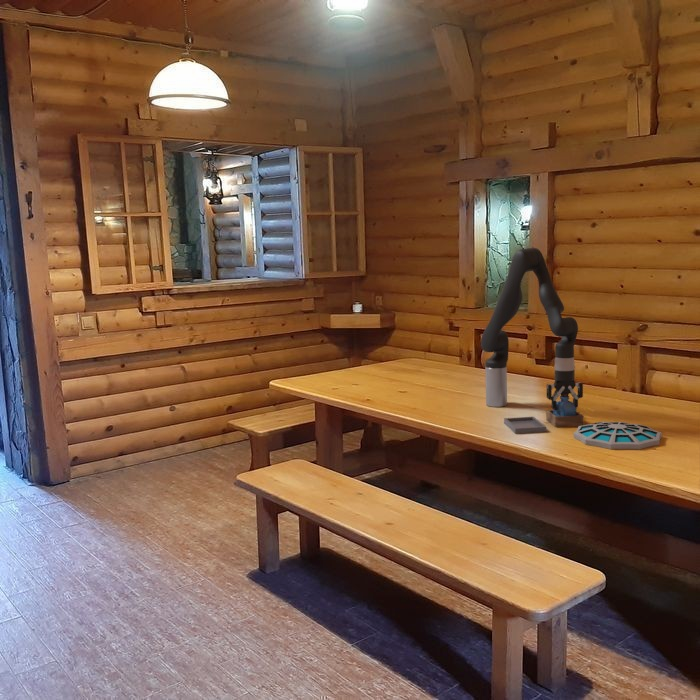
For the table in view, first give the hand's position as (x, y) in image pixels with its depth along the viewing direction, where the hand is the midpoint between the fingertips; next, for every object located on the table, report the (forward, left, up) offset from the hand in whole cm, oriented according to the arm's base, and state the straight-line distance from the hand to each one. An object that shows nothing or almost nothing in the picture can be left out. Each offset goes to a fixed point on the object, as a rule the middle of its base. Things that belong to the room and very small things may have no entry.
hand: (564, 409), depth 287 cm
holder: (0, 0, -6) cm, 6 cm away
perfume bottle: (0, 0, -6) cm, 6 cm away
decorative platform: (+24, +11, -6) cm, 27 cm away
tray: (+3, -17, -6) cm, 18 cm away
